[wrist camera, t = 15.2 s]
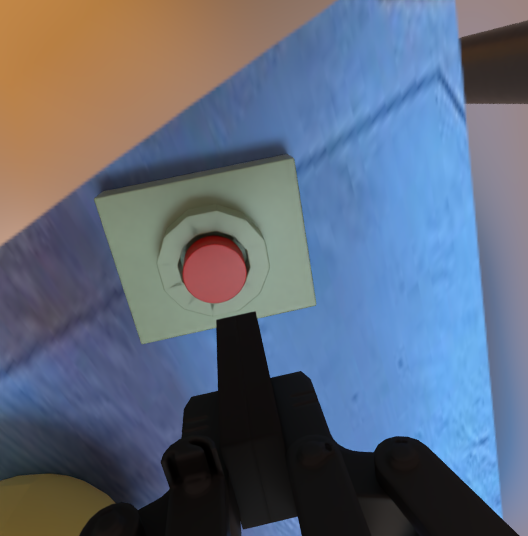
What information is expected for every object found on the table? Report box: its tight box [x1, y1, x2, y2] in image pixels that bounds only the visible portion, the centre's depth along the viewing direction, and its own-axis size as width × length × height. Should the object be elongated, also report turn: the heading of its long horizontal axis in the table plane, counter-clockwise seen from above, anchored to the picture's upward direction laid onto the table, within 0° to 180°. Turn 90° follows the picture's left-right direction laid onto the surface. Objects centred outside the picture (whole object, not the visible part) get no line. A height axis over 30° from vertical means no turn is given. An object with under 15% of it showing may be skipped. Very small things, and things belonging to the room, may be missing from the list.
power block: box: [94, 154, 316, 344], centre depth 28 cm, size 12×10×4 cm
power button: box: [182, 236, 247, 303], centre depth 26 cm, size 4×4×2 cm
